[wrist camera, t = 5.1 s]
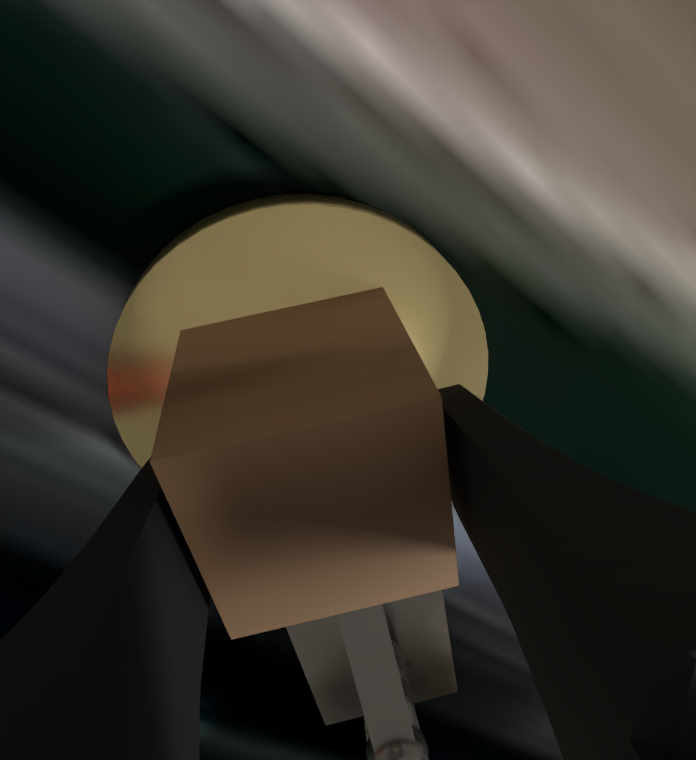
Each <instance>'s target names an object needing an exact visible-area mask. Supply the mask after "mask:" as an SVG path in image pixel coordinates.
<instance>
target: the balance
mask: <svg viewBox="0 0 696 760" xmlns="http://www.w3.org/2000/svg"><path fill="white" fill-rule="evenodd" d="M381 287H383V288H384V290H385V292H386V294H387V295H388V297H389V299H390V301H391V303H392V305H393V307H394V309H395V310H396V312H397V314H398V316H399V318H400V320H401V322H402V323H403V325H404V327H405V329H406V331H407V333H408V335H409V337H410V338H411V340H412V342H413V344H414V346H415V348H416V350H417V352H418V353H419V355H420V357H421V359H422V361H423V363H424V365H425V366H426V368H427V370H428V372H429V374H430V376H431V378H432V380H433V381H434V383H435V385H436V387H437V389H440V388H444V387H448V386H453V385H457V384H460V385H462V386H463V387H465V388H466V389H467V390H469V391H470V392H471V393H473V394H474V395H475V396H477V397H478V398H479V399H481V400H483V397H484V394H485V388H486V381H487V375H488V349H487V342H486V334H485V330H484V326H483V323H482V320H481V316H480V313H479V310H478V308H477V306H476V304H475V302H474V300H473V298H472V296H471V294H470V291H469V290H468V288H467V287H466V285H465V284H464V283H463V281H462V280H461V278H460V277H459V275H458V274H457V272H456V271H455V270H454V269H453V268H452V266H451V265H450V264H449V263H448V262H447V261H446V260H445V258H444V257H443V256H442V255H441V254H440V253H439V252H438V251H437V250H436V249H435V248H434V247H433V246H432V244H431V243H430V242H429V241H428V240H427V239H425V238H424V237H423V236H422V235H420V234H419V233H418V232H417V231H415V230H414V229H413V228H411V227H410V226H409V225H407V224H406V223H404V222H402V221H400V220H399V219H397V218H395V217H394V216H392V215H390V214H388V213H386V212H384V211H381V210H379V209H376V208H374V207H372V206H369V205H367V204H364V203H361V202H357V201H353V200H349V199H345V198H341V197H336V196H327V195H317V194H283V195H276V196H270V197H264V198H257V199H253V200H250V201H247V202H243V203H240V204H237V205H233V206H230V207H228V208H225V209H223V210H221V211H219V212H217V213H215V214H212V215H210V216H208V217H206V218H204V219H202V220H201V221H199V222H198V223H196V224H194V225H193V226H191V227H190V228H188V229H187V230H185V231H184V232H182V233H181V234H180V235H178V236H177V237H176V238H175V239H174V240H173V241H172V242H170V243H169V244H168V245H167V246H166V247H165V248H163V249H162V250H161V252H160V253H159V254H158V255H157V256H156V257H155V258H154V260H153V261H152V262H151V263H150V264H149V265H148V267H147V268H146V269H145V271H144V272H143V274H142V275H141V277H140V279H139V280H138V282H137V283H136V285H135V287H134V288H133V290H132V292H131V294H130V296H129V298H128V300H127V303H126V305H125V307H124V309H123V311H122V314H121V316H120V318H119V321H118V323H117V325H116V328H115V330H114V334H113V338H112V342H111V346H110V350H109V356H108V368H107V384H108V396H109V402H110V406H111V410H112V414H113V418H114V421H115V424H116V426H117V428H118V431H119V433H120V436H121V438H122V440H123V442H124V444H125V445H126V447H127V448H128V450H129V452H130V453H131V455H132V457H133V458H134V460H135V461H136V462H137V463H138V464H139V466H140V467H141V468H142V467H143V466H144V465H145V463H146V462H147V461H148V460H149V458H151V454H152V450H153V445H154V441H155V437H156V433H157V428H158V424H159V420H160V416H161V411H162V407H163V403H164V398H165V394H166V390H167V386H168V381H169V377H170V373H171V369H172V364H173V360H174V356H175V351H176V347H177V343H178V339H179V334H180V330H184V329H189V328H193V327H198V326H203V325H207V324H212V323H217V322H221V321H226V320H231V319H235V318H240V317H245V316H249V315H254V314H259V313H263V312H268V311H273V310H277V309H282V308H287V307H291V306H296V305H301V304H305V303H310V302H315V301H320V300H324V299H329V298H334V297H338V296H343V295H348V294H352V293H357V292H362V291H366V290H371V289H376V288H381ZM286 629H287V631H288V634H289V636H290V639H291V641H292V644H293V646H294V649H295V651H296V654H297V656H298V658H299V661H300V663H301V666H302V668H303V671H304V673H305V676H306V678H307V681H308V683H309V686H310V688H311V691H312V693H313V695H314V698H315V700H316V703H317V705H318V708H319V710H320V713H321V715H322V718H323V720H324V723H325V725H330V724H334V723H338V722H342V721H346V720H350V719H354V718H358V717H361V716H363V720H364V726H365V732H366V738H367V745H366V760H428V757H429V756H428V747H427V743H426V740H425V738H424V735H423V734H422V732H421V731H420V728H419V724H418V720H417V716H416V711H415V707H414V703H417V702H421V701H425V700H429V699H432V698H436V697H440V696H444V695H448V694H452V693H456V692H458V690H457V683H456V677H455V670H454V663H453V657H452V650H451V644H450V637H449V631H448V624H447V617H446V611H445V604H444V598H443V591H442V590H439V591H434V592H430V593H426V594H422V595H418V596H413V597H409V598H405V599H401V600H396V601H392V602H388V603H384V604H380V605H375V606H371V607H367V608H363V609H359V610H354V611H350V612H346V613H342V614H337V615H333V616H329V617H325V618H321V619H316V620H312V621H308V622H304V623H300V624H295V625H291V626H287V627H286Z"/></svg>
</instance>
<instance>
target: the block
mask: <svg viewBox="0 0 696 760" xmlns="http://www.w3.org/2000/svg"><path fill="white" fill-rule="evenodd" d="M150 464H151V466H152V468H153V470H154V472H155V475H156V477H157V479H158V481H159V483H160V485H161V488H162V490H163V492H164V494H165V496H166V498H167V501H168V503H169V505H170V507H171V509H172V512H173V514H174V516H175V518H176V520H177V522H178V525H179V527H180V529H181V531H182V533H183V536H184V538H185V540H186V542H187V544H188V546H189V549H190V551H191V553H192V555H193V557H194V560H195V562H196V564H197V566H198V568H199V570H200V573H201V575H202V577H203V579H204V581H205V583H206V586H207V588H208V590H209V592H210V594H211V597H212V599H213V601H214V603H215V605H216V607H217V610H218V612H219V614H220V616H221V618H222V621H223V623H224V625H225V627H226V629H227V631H228V634H229V636H230V638H231V640H232V639H236V638H241V637H245V636H249V635H253V634H257V633H262V632H266V631H270V630H274V629H279V628H283V627H287V626H291V625H295V624H300V623H304V622H308V621H312V620H316V619H321V618H325V617H329V616H333V615H337V614H342V613H346V612H350V611H354V610H359V609H363V608H367V607H371V606H375V605H380V604H384V603H388V602H392V601H396V600H401V599H405V598H409V597H413V596H418V595H422V594H426V593H430V592H434V591H439V590H443V589H447V588H451V587H455V586H459V580H458V569H457V558H456V548H455V537H454V526H453V515H452V504H451V493H450V482H449V472H448V461H447V450H446V439H445V428H444V417H443V406H442V396H441V395H440V393H439V391H438V389H437V387H436V385H435V383H434V381H433V380H432V378H431V376H430V374H429V372H428V370H427V368H426V366H425V365H424V363H423V361H422V359H421V357H420V355H419V353H418V352H417V350H416V348H415V346H414V344H413V342H412V340H411V338H410V337H409V335H408V333H407V331H406V329H405V327H404V325H403V323H402V322H401V320H400V318H399V316H398V314H397V312H396V310H395V309H394V307H393V305H392V303H391V301H390V299H389V297H388V295H387V294H386V292H385V290H384V288H383V287H381V288H376V289H371V290H366V291H362V292H357V293H352V294H348V295H343V296H338V297H334V298H329V299H324V300H320V301H315V302H310V303H305V304H301V305H296V306H291V307H287V308H282V309H277V310H273V311H268V312H263V313H259V314H254V315H249V316H245V317H240V318H235V319H231V320H226V321H221V322H217V323H212V324H207V325H203V326H198V327H193V328H189V329H184V330H180V334H179V339H178V343H177V347H176V351H175V356H174V360H173V364H172V369H171V373H170V377H169V381H168V386H167V390H166V394H165V398H164V403H163V407H162V411H161V416H160V420H159V424H158V428H157V433H156V437H155V441H154V445H153V450H152V454H151V458H150Z"/></svg>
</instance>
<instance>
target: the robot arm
mask: <svg viewBox="0 0 696 760" xmlns="http://www.w3.org/2000/svg"><path fill="white" fill-rule="evenodd" d="M438 391H439V393H440V395H441V396H442V406H443V417H444V428H445V439H446V450H447V461H448V472H449V482H450V493H451V500H452V502H453V505H454V508H455V510H456V512H457V514H458V516H459V518H460V520H461V522H462V524H463V526H464V528H465V530H466V532H467V534H468V536H469V538H470V540H471V542H472V544H473V546H474V548H475V550H476V552H477V554H478V556H479V558H480V560H481V562H482V564H483V565H484V567H485V569H486V571H487V573H488V575H489V577H490V579H491V581H492V583H493V585H494V587H495V589H496V591H497V593H498V595H499V597H500V599H501V601H502V603H503V605H504V607H505V609H506V612H507V614H508V616H509V618H510V620H511V622H512V625H513V627H514V630H515V632H516V635H517V638H518V640H519V643H520V645H521V648H522V650H523V653H524V655H525V658H526V660H527V663H528V665H529V668H530V671H531V673H532V676H533V678H534V681H535V684H536V686H537V689H538V692H539V694H540V697H541V699H542V702H543V705H544V707H545V710H546V713H547V715H548V718H549V720H550V723H551V726H552V729H553V731H554V734H555V737H556V739H557V742H558V745H559V748H560V750H561V753H562V756H563V759H564V760H696V513H693V512H690V511H687V510H684V509H681V508H679V507H676V506H674V505H671V504H668V503H666V502H663V501H661V500H658V499H656V498H653V497H651V496H648V495H646V494H643V493H641V492H638V491H636V490H634V489H631V488H629V487H627V486H624V485H622V484H620V483H618V482H616V481H614V480H612V479H609V478H607V477H605V476H603V475H601V474H599V473H597V472H595V471H593V470H591V469H589V468H587V467H585V466H583V465H581V464H579V463H577V462H575V461H573V460H572V459H570V458H568V457H566V456H565V455H563V454H561V453H559V452H558V451H556V450H554V449H553V448H551V447H549V446H548V445H546V444H544V443H543V442H541V441H540V440H538V439H536V438H535V437H533V436H532V435H530V434H529V433H527V432H526V431H524V430H523V429H521V428H520V427H518V426H517V425H515V424H514V423H512V422H511V421H509V420H508V419H507V418H505V417H504V416H502V415H501V414H500V413H498V412H497V411H495V410H494V409H493V408H491V407H490V406H489V405H487V404H486V403H485V402H483V401H482V400H481V399H479V398H478V397H477V396H475V395H474V394H473V393H471V392H470V391H469V390H467V389H466V388H465V387H463V386H462V385H460V384H457V385H453V386H448V387H444V388H440V389H438ZM209 603H210V592H209V590H208V588H207V586H206V583H205V581H204V579H203V577H202V575H201V573H200V570H199V568H198V566H197V564H196V562H195V560H194V557H193V555H192V553H191V551H190V549H189V546H188V544H187V542H186V540H185V538H184V536H183V533H182V531H181V529H180V527H179V525H178V522H177V520H176V518H175V516H174V514H173V512H172V509H171V507H170V505H169V503H168V501H167V498H166V496H165V494H164V492H163V490H162V488H161V485H160V483H159V481H158V479H157V477H156V475H155V472H154V470H153V468H152V466H151V464H150V458H149V460H148V461H147V462H146V463H145V465H144V466H143V467H142V469H141V470H140V471H139V473H138V474H137V476H136V477H135V478H134V480H133V481H132V483H131V484H130V485H129V487H128V488H127V490H126V491H125V492H124V494H123V495H122V497H121V498H120V499H119V501H118V502H117V504H116V505H115V506H114V508H113V509H112V510H111V512H110V513H109V515H108V516H107V517H106V519H105V520H104V521H103V523H102V524H101V525H100V527H99V528H98V529H97V531H96V532H95V534H94V535H93V536H92V537H91V539H90V540H89V541H88V542H87V544H86V545H85V546H84V547H83V549H82V550H81V551H80V552H79V554H78V555H77V556H76V557H75V559H74V560H73V561H72V562H71V564H70V565H69V566H68V567H67V568H66V570H65V571H64V572H63V573H62V575H61V576H60V577H59V578H58V580H57V581H56V582H55V583H54V584H53V585H52V587H51V588H50V589H49V590H48V591H47V592H46V593H45V594H44V596H43V597H42V598H41V599H40V600H39V601H38V602H37V603H36V604H35V605H34V607H33V608H32V609H31V610H30V611H29V612H28V613H27V614H26V615H25V616H24V617H23V618H22V619H21V620H20V621H19V622H18V623H17V624H16V626H15V627H14V628H13V629H12V630H11V631H10V632H9V633H8V634H7V635H6V636H5V637H4V638H3V639H2V640H1V641H0V760H199V723H200V690H201V675H202V666H203V657H204V648H205V639H206V630H207V621H208V612H209Z"/></svg>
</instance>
